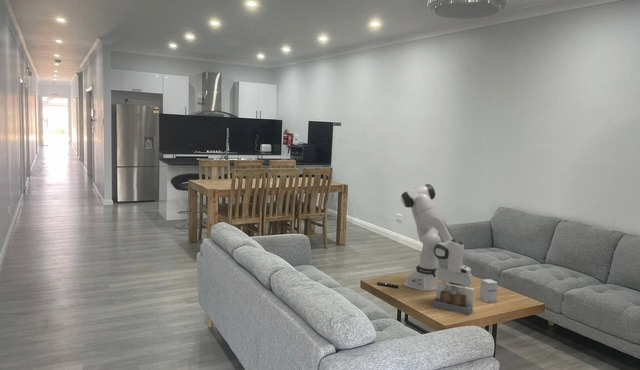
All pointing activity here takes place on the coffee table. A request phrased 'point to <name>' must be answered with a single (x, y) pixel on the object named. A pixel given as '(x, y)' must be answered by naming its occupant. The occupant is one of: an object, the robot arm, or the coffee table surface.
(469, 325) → the coffee table surface
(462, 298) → the walnut panel
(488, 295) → the supplement box
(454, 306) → the board
